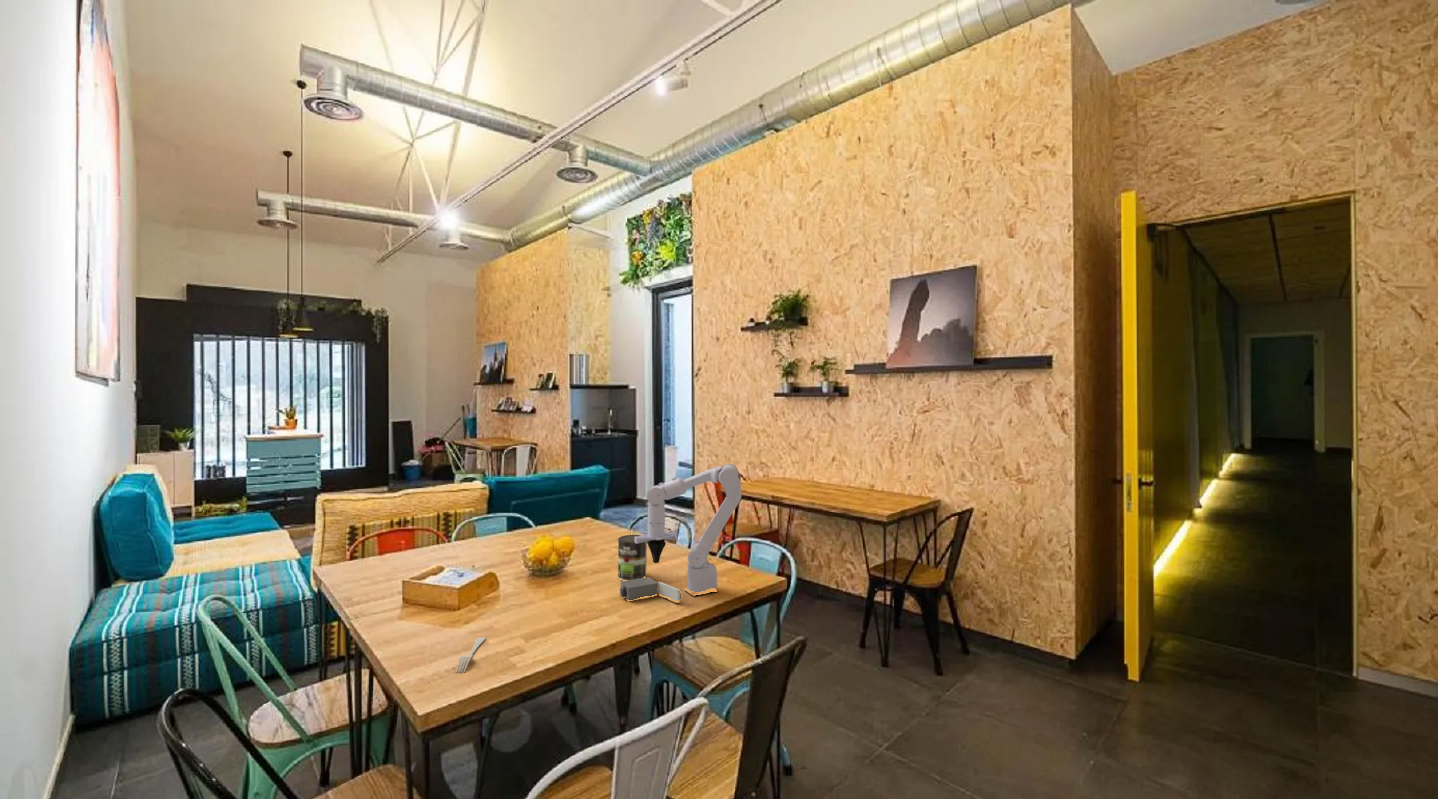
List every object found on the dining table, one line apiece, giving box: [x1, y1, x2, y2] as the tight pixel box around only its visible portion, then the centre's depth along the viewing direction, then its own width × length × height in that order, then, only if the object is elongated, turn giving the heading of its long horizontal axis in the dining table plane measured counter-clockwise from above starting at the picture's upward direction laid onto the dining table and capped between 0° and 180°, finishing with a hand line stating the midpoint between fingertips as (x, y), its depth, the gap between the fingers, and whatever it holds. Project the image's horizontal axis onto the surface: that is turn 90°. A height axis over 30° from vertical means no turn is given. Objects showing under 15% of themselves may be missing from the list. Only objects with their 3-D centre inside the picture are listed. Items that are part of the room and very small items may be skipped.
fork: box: [455, 637, 487, 673], centre depth 151 cm, size 3×21×3 cm, turn 8°
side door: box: [657, 581, 682, 601], centre depth 190 cm, size 10×2×4 cm, turn 43°
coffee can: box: [617, 534, 648, 581], centre depth 212 cm, size 10×10×14 cm
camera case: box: [619, 576, 658, 601], centre depth 193 cm, size 11×7×4 cm, turn 120°
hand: (655, 562), depth 199 cm, fingers closed
